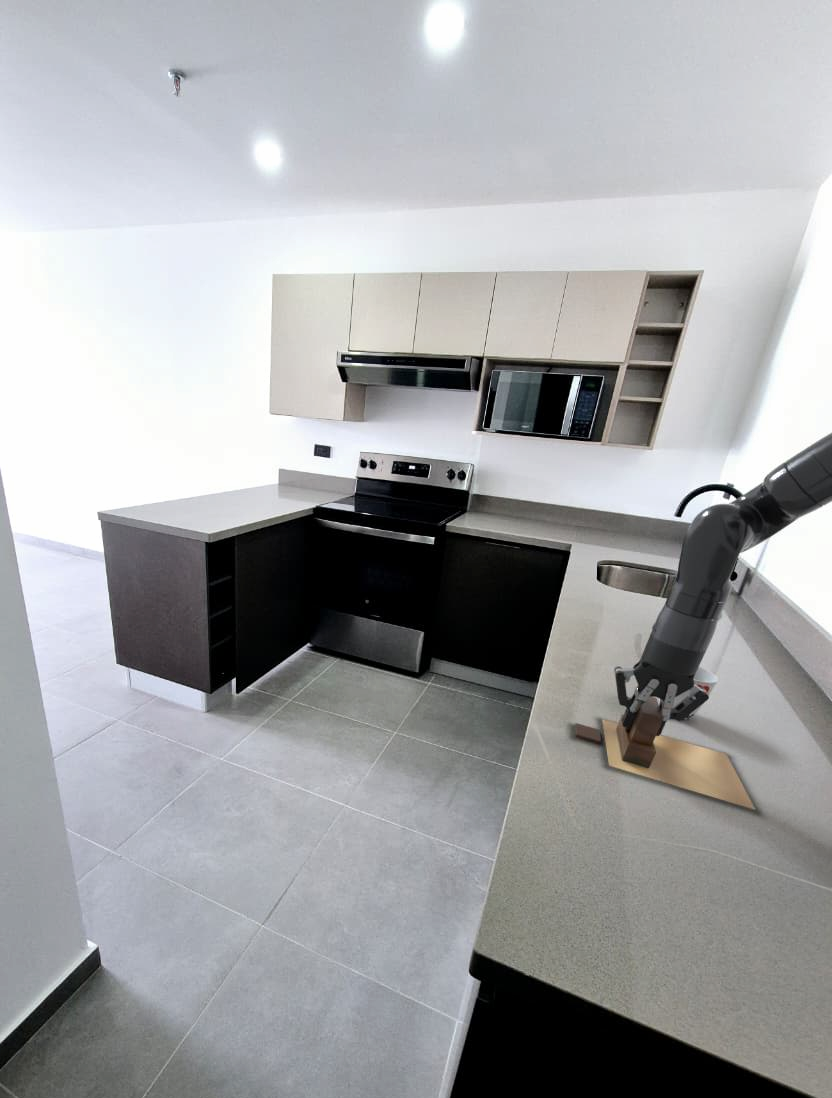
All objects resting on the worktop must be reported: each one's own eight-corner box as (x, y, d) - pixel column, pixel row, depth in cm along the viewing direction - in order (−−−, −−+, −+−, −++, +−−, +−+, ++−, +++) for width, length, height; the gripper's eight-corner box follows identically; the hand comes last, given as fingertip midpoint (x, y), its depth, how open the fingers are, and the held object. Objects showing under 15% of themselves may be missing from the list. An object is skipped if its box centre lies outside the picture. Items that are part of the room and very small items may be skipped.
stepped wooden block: (640, 736, 88) (658, 694, 84) (648, 768, 79) (669, 723, 76) (615, 729, 89) (632, 688, 86) (621, 760, 80) (640, 716, 77)
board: (723, 758, 86) (726, 753, 86) (752, 814, 74) (755, 809, 73) (600, 723, 92) (602, 719, 92) (607, 770, 79) (609, 765, 79)
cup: (647, 716, 97) (667, 670, 93) (651, 700, 103) (670, 657, 99) (695, 733, 93) (718, 687, 89) (696, 716, 99) (718, 672, 95)
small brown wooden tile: (596, 736, 88) (599, 729, 87) (598, 748, 84) (601, 741, 84) (572, 729, 89) (575, 722, 88) (573, 741, 86) (576, 734, 85)
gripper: (632, 634, 74) (594, 730, 82) (740, 659, 70) (691, 758, 78) (626, 619, 81) (592, 709, 88) (725, 641, 77) (681, 733, 84)
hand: (638, 731), depth 83 cm, fingers closed on stepped wooden block, 3 cm apart
